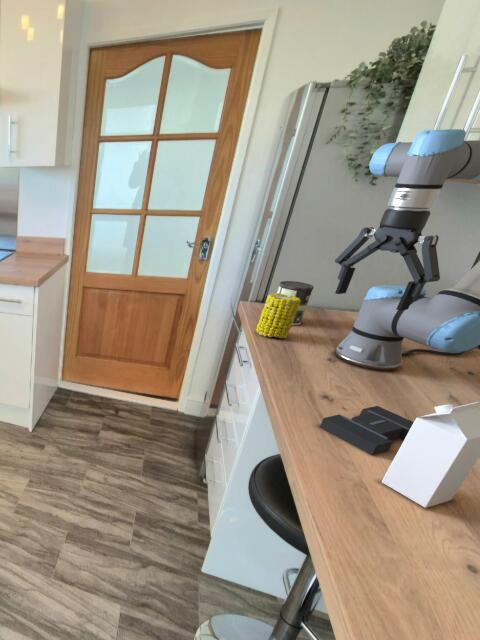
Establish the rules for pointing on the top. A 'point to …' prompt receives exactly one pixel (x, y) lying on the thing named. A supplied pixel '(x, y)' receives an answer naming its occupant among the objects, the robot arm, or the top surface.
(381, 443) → the pad row
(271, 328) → the food
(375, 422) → the loose pad
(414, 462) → the milk carton
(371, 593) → the top surface
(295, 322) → the coffee can
